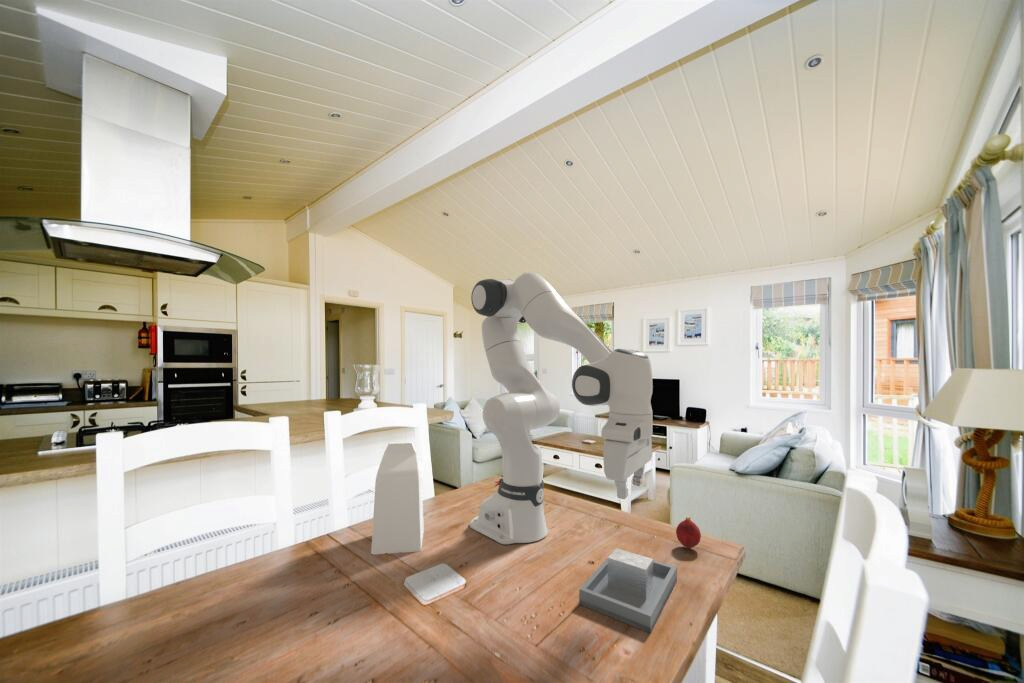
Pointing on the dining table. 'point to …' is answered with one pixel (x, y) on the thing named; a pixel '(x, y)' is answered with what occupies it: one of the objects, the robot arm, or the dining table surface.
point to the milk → (398, 501)
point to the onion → (688, 533)
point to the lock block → (630, 573)
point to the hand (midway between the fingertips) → (630, 491)
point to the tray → (629, 597)
